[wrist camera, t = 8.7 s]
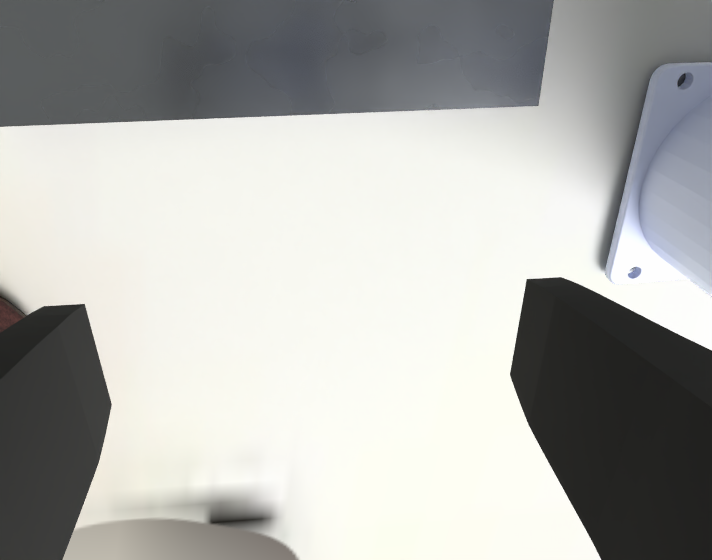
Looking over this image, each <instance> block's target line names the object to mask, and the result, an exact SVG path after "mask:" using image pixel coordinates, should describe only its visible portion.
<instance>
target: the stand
mask: <svg viewBox="0 0 712 560" xmlns="http://www.w3.org/2000/svg"><path fill="white" fill-rule="evenodd" d="M553 1H554V0H0V127H4V126H29V125H55V124H81V123H107V122H132V121H158V120H184V119H209V118H235V117H261V116H287V115H312V114H338V113H364V112H389V111H415V110H441V109H467V108H492V107H518V106H538V104H539V97H540V91H541V84H542V77H543V70H544V63H545V56H546V49H547V42H548V36H549V29H550V22H551V15H552V8H553Z"/></svg>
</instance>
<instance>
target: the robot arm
mask: <svg viewBox="0 0 712 560" xmlns="http://www.w3.org/2000/svg"><path fill="white" fill-rule="evenodd" d="M684 73H685V74H686V79H685V81H684V83H683V84H682V85H681V86H679V87H678V86H677V84H678V80H679V78H680V76H681V75H683V74H684ZM633 267H636V268H635V269H634V271H633V272H631V273H629V274H628V272H629V270H630V269H632V268H633ZM605 275H606V277H607V278H608V279H609V280H610V281H611V282H612V283H614V284H630V283H643V282H657V281H671V280H684V279H689V280H690V281H691V282H693V283H694V284H695V285H697V286H698V287H699V288H701V289H702V290H703V291H704V292H706V293H707V294H708V295H710V296H711V297H712V62H697V63H668V64H664V65H661V66H660V67H658V68H657V69H656V70H655V71H654V73H653V74H652V76H651V79H650V82H649V86H648V90H647V95H646V99H645V103H644V107H643V112H642V116H641V120H640V124H639V129H638V133H637V137H636V141H635V146H634V150H633V154H632V158H631V163H630V167H629V171H628V175H627V180H626V184H625V188H624V192H623V197H622V201H621V205H620V209H619V214H618V218H617V222H616V227H615V231H614V235H613V239H612V244H611V248H610V252H609V256H608V261H607V265H606V269H605ZM510 376H511V379H512V382H513V385H514V387H515V390H516V393H517V396H518V399H519V401H520V404H521V406H522V409H523V412H524V414H525V417H526V419H527V422H528V424H529V426H530V428H531V430H532V432H533V434H534V436H535V438H536V440H537V441H538V443H539V445H540V447H541V449H542V451H543V453H544V454H545V456H546V458H547V460H548V462H549V464H550V466H551V467H552V469H553V471H554V473H555V475H556V476H557V478H558V480H559V482H560V484H561V485H562V487H563V489H564V491H565V493H566V495H567V496H568V498H569V500H570V502H571V504H572V505H573V507H574V509H575V511H576V513H577V514H578V516H579V518H580V520H581V522H582V524H583V525H584V527H585V529H586V531H587V533H588V534H589V536H590V538H591V540H592V542H593V544H594V546H595V548H596V550H597V552H598V554H599V556H600V558H601V560H712V351H711V350H709V349H707V348H705V347H703V346H701V345H699V344H697V343H695V342H693V341H691V340H689V339H686V338H684V337H682V336H680V335H678V334H676V333H674V332H672V331H670V330H668V329H666V328H664V327H662V326H660V325H659V324H657V323H655V322H653V321H651V320H649V319H647V318H645V317H643V316H641V315H639V314H637V313H635V312H633V311H631V310H629V309H627V308H625V307H623V306H621V305H620V304H618V303H616V302H614V301H612V300H610V299H608V298H606V297H604V296H602V295H600V294H598V293H596V292H594V291H592V290H590V289H588V288H585V287H583V286H581V285H579V284H577V283H574V282H572V281H569V280H567V279H564V278H561V277H559V278H542V279H527V281H526V287H525V293H524V298H523V304H522V310H521V316H520V321H519V327H518V333H517V338H516V344H515V350H514V355H513V361H512V367H511V372H510ZM111 405H112V404H111V401H110V397H109V393H108V389H107V386H106V382H105V378H104V375H103V371H102V367H101V363H100V360H99V356H98V352H97V349H96V345H95V341H94V337H93V334H92V330H91V326H90V323H89V319H88V315H87V311H86V308H85V304H78V305H61V306H44V307H42V308H40V309H38V310H36V311H34V312H32V313H31V314H29V315H27V316H26V317H24V318H23V319H21V320H19V321H18V322H16V323H15V324H13V325H11V326H10V327H8V328H7V329H5V330H4V331H2V332H1V333H0V560H62V559H63V556H64V554H65V551H66V549H67V546H68V543H69V541H70V538H71V535H72V533H73V530H74V528H75V525H76V522H77V520H78V517H79V514H80V512H81V509H82V506H83V504H84V501H85V498H86V496H87V493H88V490H89V488H90V485H91V482H92V479H93V477H94V474H95V471H96V468H97V466H98V463H99V459H100V455H101V451H102V447H103V443H104V438H105V434H106V429H107V424H108V420H109V415H110V410H111Z"/></svg>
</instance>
